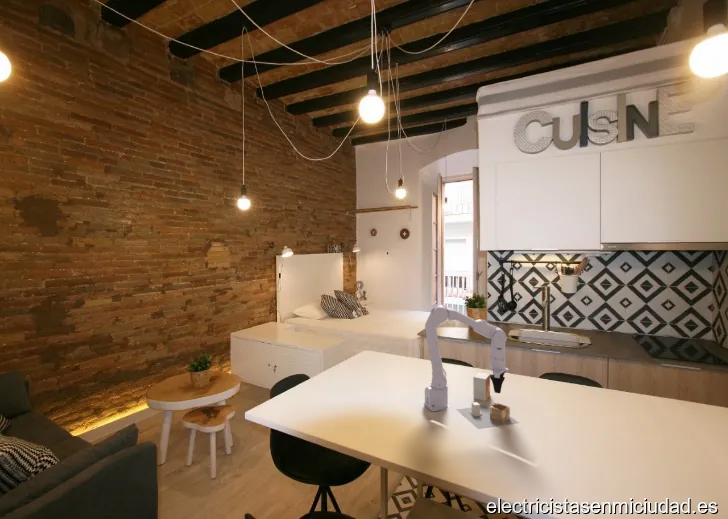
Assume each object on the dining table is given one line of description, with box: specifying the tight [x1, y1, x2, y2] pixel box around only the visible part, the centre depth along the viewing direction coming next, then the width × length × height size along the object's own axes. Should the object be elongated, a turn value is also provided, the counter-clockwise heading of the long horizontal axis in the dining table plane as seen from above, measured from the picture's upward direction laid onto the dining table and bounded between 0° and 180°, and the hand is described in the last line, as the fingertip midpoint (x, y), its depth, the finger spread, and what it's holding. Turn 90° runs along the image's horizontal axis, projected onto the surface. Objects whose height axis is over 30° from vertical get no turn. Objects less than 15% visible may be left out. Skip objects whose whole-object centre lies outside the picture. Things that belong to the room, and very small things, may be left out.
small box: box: [472, 371, 491, 402], centre depth 152 cm, size 8×6×10 cm
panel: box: [456, 401, 520, 430], centre depth 134 cm, size 18×16×5 cm
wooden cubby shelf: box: [490, 402, 511, 423], centre depth 132 cm, size 6×6×5 cm
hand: (497, 389), depth 139 cm, fingers open, 7 cm apart
